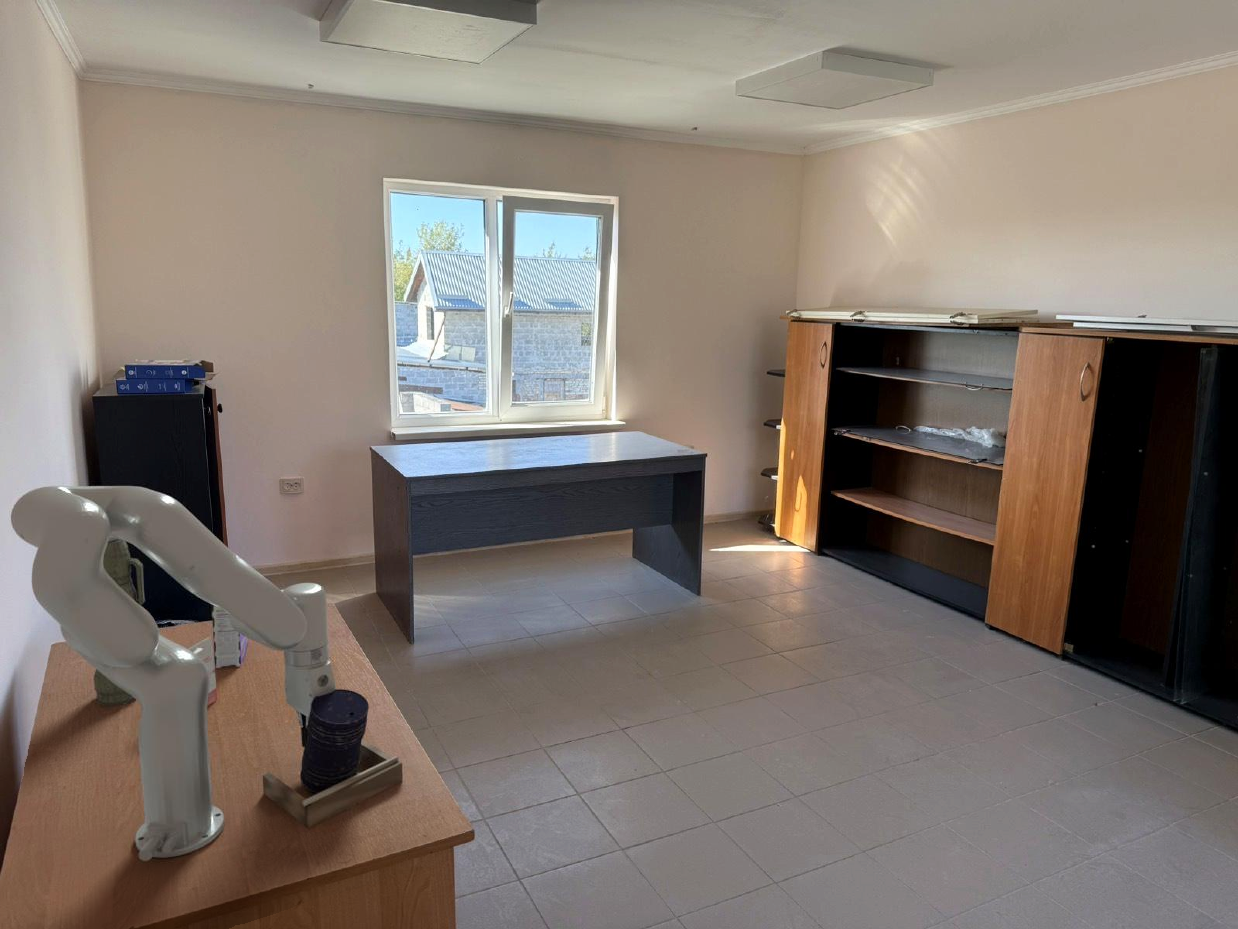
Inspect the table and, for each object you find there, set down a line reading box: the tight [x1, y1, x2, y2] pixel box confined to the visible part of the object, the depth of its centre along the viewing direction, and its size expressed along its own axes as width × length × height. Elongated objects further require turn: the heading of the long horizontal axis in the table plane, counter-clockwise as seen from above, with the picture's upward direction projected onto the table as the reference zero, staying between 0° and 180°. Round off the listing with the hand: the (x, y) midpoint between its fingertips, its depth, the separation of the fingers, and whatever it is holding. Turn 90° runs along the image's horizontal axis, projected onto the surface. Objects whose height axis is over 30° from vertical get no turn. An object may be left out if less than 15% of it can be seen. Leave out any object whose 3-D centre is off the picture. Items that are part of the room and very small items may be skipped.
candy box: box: [210, 604, 249, 669], centre depth 195 cm, size 14×6×16 cm, turn 17°
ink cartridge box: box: [187, 636, 218, 708], centre depth 170 cm, size 9×5×15 cm, turn 168°
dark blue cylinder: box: [299, 688, 370, 794], centre depth 145 cm, size 10×10×15 cm
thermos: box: [93, 539, 146, 707], centre depth 172 cm, size 9×12×35 cm
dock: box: [262, 738, 403, 829], centre depth 145 cm, size 15×18×4 cm
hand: (312, 745), depth 150 cm, fingers closed
